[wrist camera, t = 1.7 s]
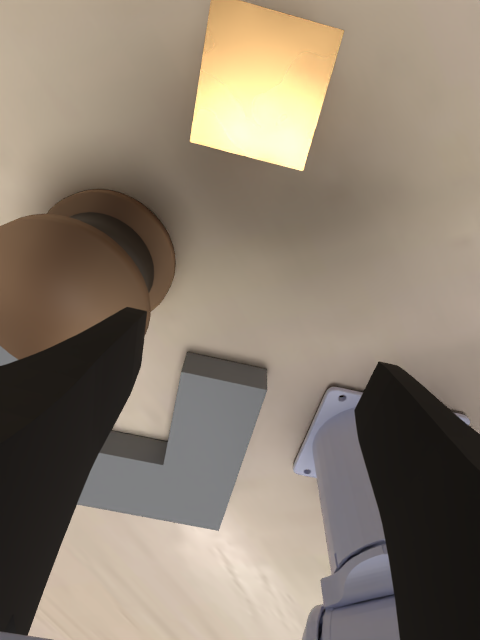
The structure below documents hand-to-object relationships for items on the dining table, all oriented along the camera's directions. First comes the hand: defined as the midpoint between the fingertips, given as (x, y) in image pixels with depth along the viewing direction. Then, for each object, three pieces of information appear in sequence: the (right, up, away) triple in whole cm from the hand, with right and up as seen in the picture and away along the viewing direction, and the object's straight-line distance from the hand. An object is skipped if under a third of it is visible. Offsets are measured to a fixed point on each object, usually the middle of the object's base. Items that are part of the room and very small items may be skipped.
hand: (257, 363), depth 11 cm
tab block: (0, +11, +5) cm, 12 cm away
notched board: (-9, -6, +14) cm, 18 cm away
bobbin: (-7, +5, +9) cm, 12 cm away
